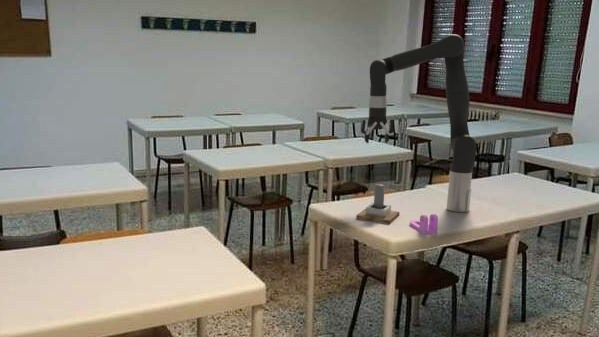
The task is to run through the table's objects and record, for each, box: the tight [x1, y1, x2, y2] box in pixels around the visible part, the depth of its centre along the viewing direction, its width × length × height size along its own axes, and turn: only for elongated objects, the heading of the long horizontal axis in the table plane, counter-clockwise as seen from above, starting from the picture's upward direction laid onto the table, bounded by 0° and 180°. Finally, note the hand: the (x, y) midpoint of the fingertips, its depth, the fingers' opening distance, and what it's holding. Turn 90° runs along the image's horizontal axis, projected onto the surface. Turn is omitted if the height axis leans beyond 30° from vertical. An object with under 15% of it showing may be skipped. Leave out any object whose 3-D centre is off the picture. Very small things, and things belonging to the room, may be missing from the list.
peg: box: [373, 183, 386, 209], centre depth 221 cm, size 4×4×12 cm
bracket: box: [409, 213, 439, 235], centre depth 209 cm, size 13×6×7 cm, turn 17°
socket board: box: [355, 202, 400, 225], centre depth 222 cm, size 14×14×4 cm
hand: (376, 142), depth 240 cm, fingers open, 8 cm apart
